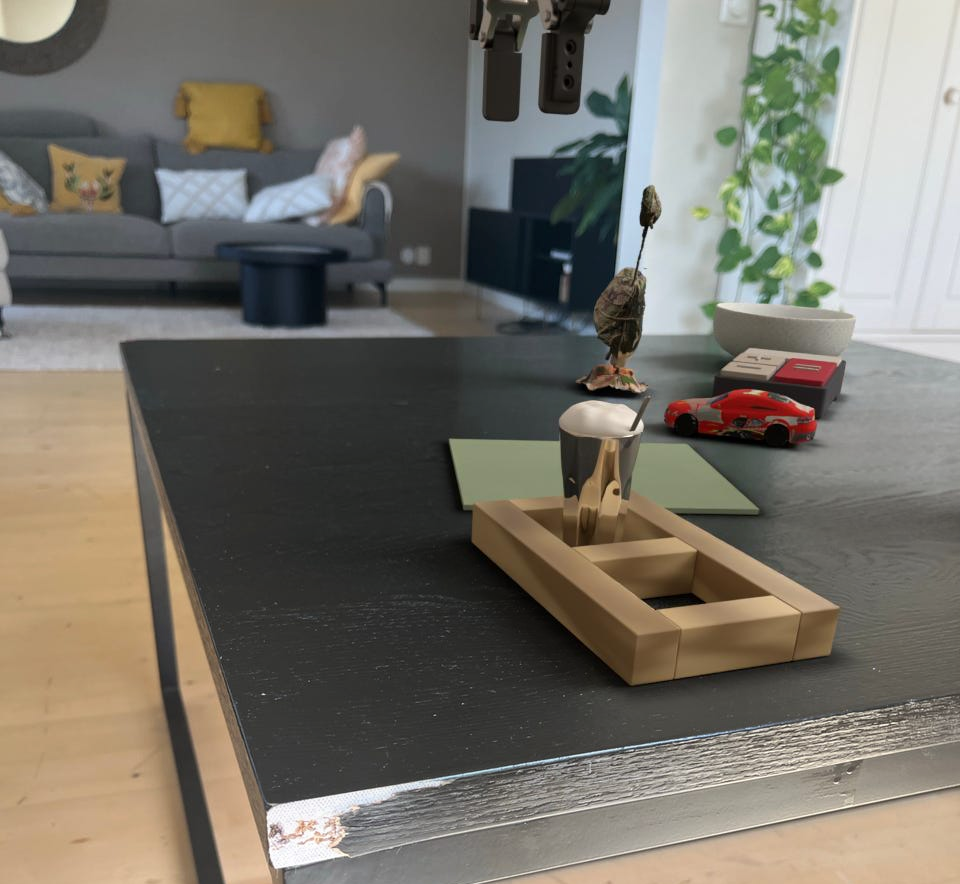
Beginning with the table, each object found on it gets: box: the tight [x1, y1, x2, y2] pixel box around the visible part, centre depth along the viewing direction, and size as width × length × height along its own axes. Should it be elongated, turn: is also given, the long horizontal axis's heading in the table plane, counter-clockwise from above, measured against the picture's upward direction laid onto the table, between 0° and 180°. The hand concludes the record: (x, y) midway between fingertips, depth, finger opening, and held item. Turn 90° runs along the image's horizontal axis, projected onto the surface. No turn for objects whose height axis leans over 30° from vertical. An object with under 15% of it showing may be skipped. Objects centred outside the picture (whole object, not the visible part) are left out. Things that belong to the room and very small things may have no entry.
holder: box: [471, 490, 841, 687], centre depth 52 cm, size 11×19×2 cm, turn 21°
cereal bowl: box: [712, 302, 857, 358], centre depth 121 cm, size 17×17×7 cm
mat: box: [448, 438, 760, 516], centre depth 74 cm, size 20×18×1 cm
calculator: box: [711, 348, 847, 419], centre depth 103 cm, size 11×4×15 cm
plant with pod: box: [575, 184, 663, 395], centre depth 102 cm, size 8×11×20 cm
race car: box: [663, 389, 818, 448], centre depth 87 cm, size 13×5×4 cm, turn 68°
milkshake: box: [558, 396, 652, 548], centre depth 54 cm, size 4×5×10 cm
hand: (527, 117), depth 57 cm, fingers open, 8 cm apart
